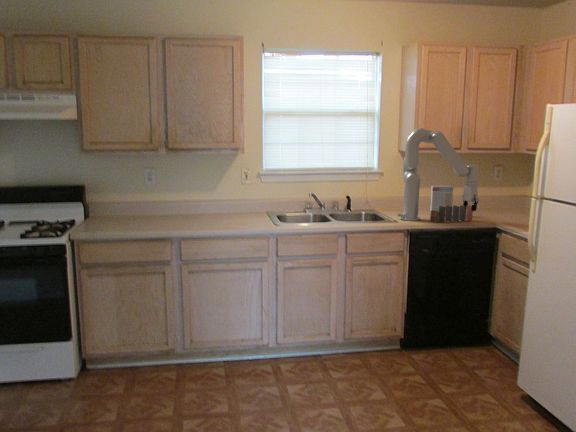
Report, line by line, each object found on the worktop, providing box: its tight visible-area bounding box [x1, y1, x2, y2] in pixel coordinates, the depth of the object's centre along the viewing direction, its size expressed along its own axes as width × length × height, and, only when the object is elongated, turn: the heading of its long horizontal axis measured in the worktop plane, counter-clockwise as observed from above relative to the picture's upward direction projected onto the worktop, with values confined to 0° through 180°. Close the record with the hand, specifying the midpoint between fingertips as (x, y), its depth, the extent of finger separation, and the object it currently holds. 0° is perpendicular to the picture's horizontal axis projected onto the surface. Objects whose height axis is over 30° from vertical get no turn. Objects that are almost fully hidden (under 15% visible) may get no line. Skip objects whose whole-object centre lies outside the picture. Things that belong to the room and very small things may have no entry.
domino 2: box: [445, 206, 453, 223], centre depth 334 cm, size 2×5×10 cm, turn 13°
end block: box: [429, 210, 440, 224], centre depth 332 cm, size 2×7×7 cm, turn 14°
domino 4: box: [459, 204, 466, 222], centre depth 336 cm, size 2×5×10 cm, turn 13°
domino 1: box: [439, 206, 446, 223], centre depth 333 cm, size 2×5×10 cm, turn 14°
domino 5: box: [465, 204, 474, 222], centre depth 337 cm, size 2×5×10 cm, turn 14°
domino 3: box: [452, 205, 460, 223], centre depth 335 cm, size 2×5×10 cm, turn 13°
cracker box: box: [429, 184, 454, 217], centre depth 355 cm, size 14×6×21 cm, turn 84°
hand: (469, 209), depth 337 cm, fingers open, 9 cm apart
